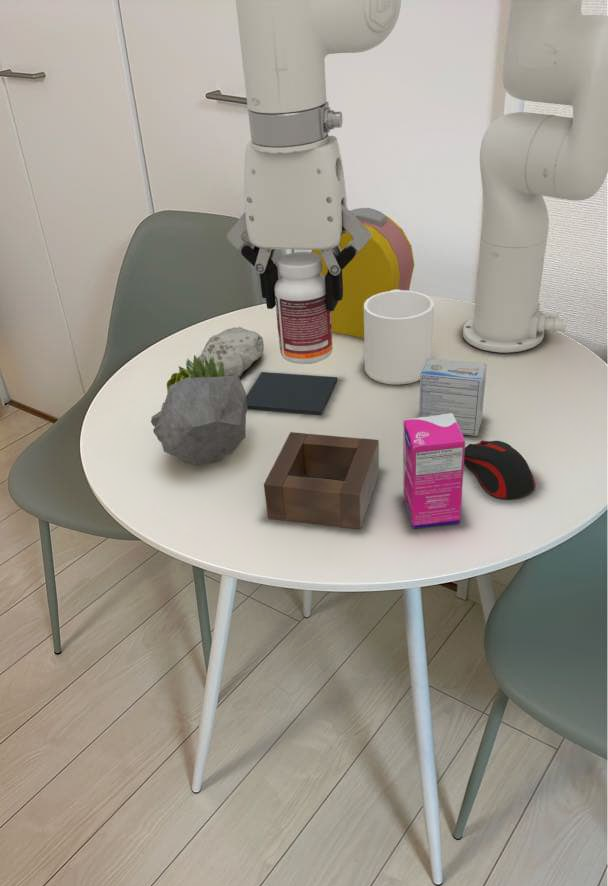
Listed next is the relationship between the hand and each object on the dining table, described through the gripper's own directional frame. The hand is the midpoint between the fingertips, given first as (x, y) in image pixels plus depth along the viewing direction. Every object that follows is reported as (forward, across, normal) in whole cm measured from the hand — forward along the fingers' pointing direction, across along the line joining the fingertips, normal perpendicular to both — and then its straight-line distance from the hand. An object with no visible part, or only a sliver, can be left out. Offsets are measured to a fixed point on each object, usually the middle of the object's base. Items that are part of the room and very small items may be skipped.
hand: (303, 303), depth 84 cm
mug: (+22, -6, -26) cm, 35 cm away
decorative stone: (+21, +20, -23) cm, 37 cm away
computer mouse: (+21, -23, 0) cm, 31 cm away
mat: (+21, +8, -16) cm, 27 cm away
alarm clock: (+22, +1, -40) cm, 45 cm away
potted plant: (+21, +16, -1) cm, 27 cm away
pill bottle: (+6, 0, 0) cm, 6 cm away
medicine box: (+22, -16, -10) cm, 29 cm away
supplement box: (+21, -16, +9) cm, 28 cm away
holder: (+21, -3, +8) cm, 23 cm away
